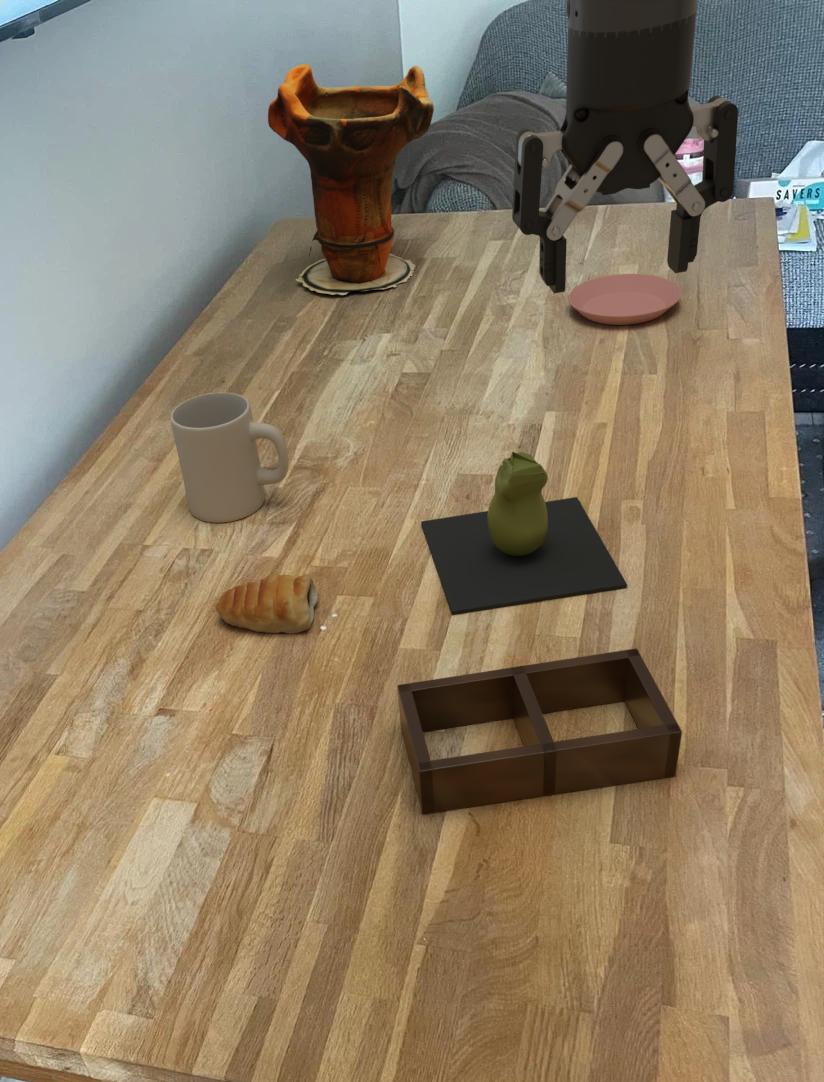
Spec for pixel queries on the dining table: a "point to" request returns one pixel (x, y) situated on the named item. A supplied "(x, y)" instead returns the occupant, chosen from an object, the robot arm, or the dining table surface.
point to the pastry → (271, 604)
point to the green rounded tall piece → (518, 506)
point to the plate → (624, 298)
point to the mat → (520, 561)
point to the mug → (224, 456)
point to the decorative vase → (352, 171)
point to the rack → (538, 731)
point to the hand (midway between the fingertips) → (616, 279)
